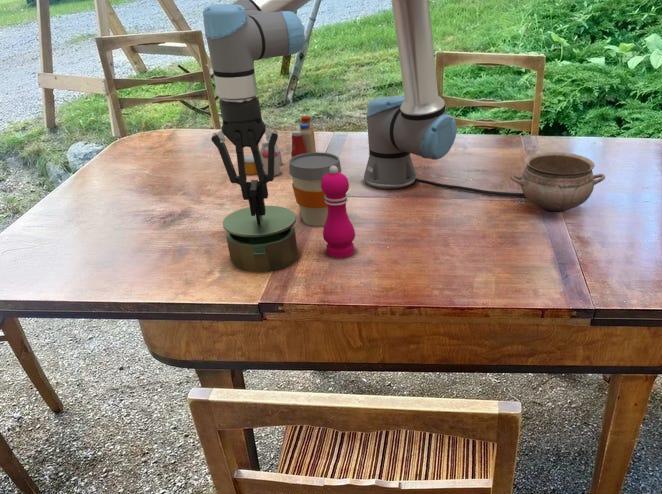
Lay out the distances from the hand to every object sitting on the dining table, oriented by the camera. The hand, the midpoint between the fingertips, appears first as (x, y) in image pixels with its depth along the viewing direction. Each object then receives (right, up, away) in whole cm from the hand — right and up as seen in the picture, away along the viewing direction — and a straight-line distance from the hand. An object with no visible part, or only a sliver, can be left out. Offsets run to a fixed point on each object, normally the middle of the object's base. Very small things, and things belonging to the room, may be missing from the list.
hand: (258, 212), depth 130 cm
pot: (0, -9, +6) cm, 11 cm away
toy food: (-7, +28, +57) cm, 64 cm away
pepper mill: (+16, -7, +9) cm, 20 cm away
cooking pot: (+70, +9, +32) cm, 78 cm away
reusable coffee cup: (+9, +4, +24) cm, 26 cm away
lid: (0, -2, +1) cm, 2 cm away
